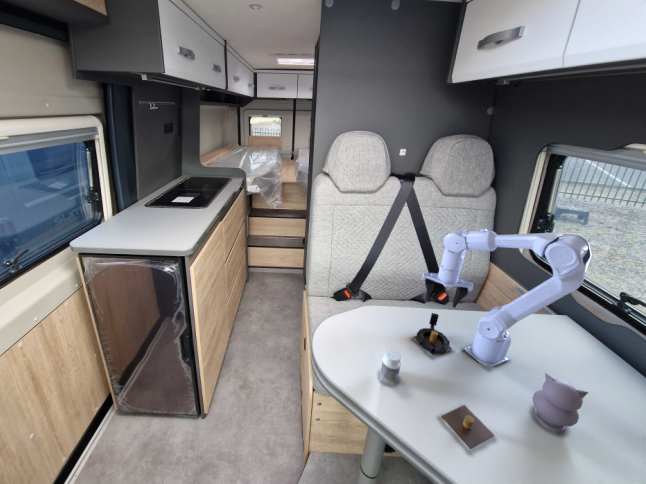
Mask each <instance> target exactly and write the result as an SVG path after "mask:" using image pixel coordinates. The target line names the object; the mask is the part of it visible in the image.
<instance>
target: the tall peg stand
mask: <svg viewBox="0 0 646 484" xmlns="http://www.w3.org/2000/svg"><path fill="white" fill-rule="evenodd" d="M437 335H438V333H437V332H436V331H432V332H431V336H428V335H424V339H425V341H426V342H428V343H430V344H432V345H440V346H441V345H442V343H441V341H440V340H439V339H437ZM411 340H412V341H413V342H414V343H415V344H416V345H417V346H420V345H419V343H418V341H417V339H416V335H415V336H412V339H411ZM426 351H427V352H428V353H429V354H430V355H431V356H434V355H437V354H438V353H433V351H432V353H431V352H429V351H428V350H426ZM451 351H452V347H451V346H450V345H449V348H448V350H447V351H446V352H445V353H444V354H447V353H450V352H451Z"/></svg>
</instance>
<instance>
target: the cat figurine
mask: <svg viewBox="0 0 646 484" xmlns="http://www.w3.org/2000/svg"><path fill="white" fill-rule="evenodd" d="M544 377H545V378H544V382H543V384H542V386H541V389H539V390H537V391H535V392H534V393H533V395H532V403H533V406H534V409H533V411H534V414H535V416H536V417H537V418H538V420H539V421H540V422H541V423H542V424H543V425H546V426H547V427H549V428H550V429H553V430H555V431H559V434H560V435H563V434H564V433H566V430H567V428H568V427H572V426H574V425H576V424H577V423H578V422H579V418H580V415H579V411H578V410H580V409H581V408H582V406H583V403H584V400H583V399H584V398H585V397H586V396H587V395H588V394H589V391H587V390H583V389H579V388H576V387H575V386H573V385H572V384H571V383H570V382H568V381H564V380H562V379H558V378H554V377H552V376H551V375H549V374H548V373H547V372H545V373H544Z"/></svg>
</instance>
